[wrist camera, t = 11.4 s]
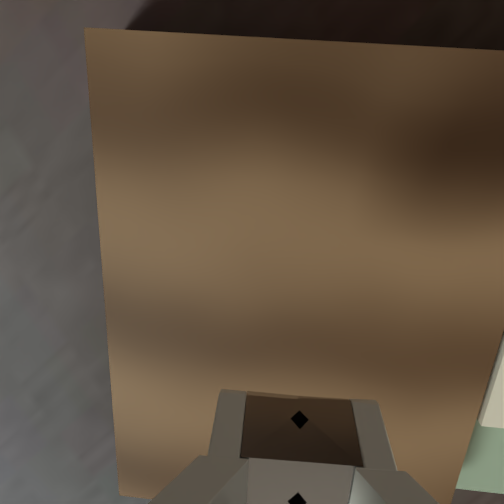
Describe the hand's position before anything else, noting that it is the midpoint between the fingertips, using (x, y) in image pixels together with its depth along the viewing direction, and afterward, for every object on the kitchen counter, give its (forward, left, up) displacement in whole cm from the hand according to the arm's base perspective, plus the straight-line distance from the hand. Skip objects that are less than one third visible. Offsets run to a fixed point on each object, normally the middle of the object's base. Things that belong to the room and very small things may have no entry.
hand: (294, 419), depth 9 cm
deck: (+1, 0, -8) cm, 8 cm away
